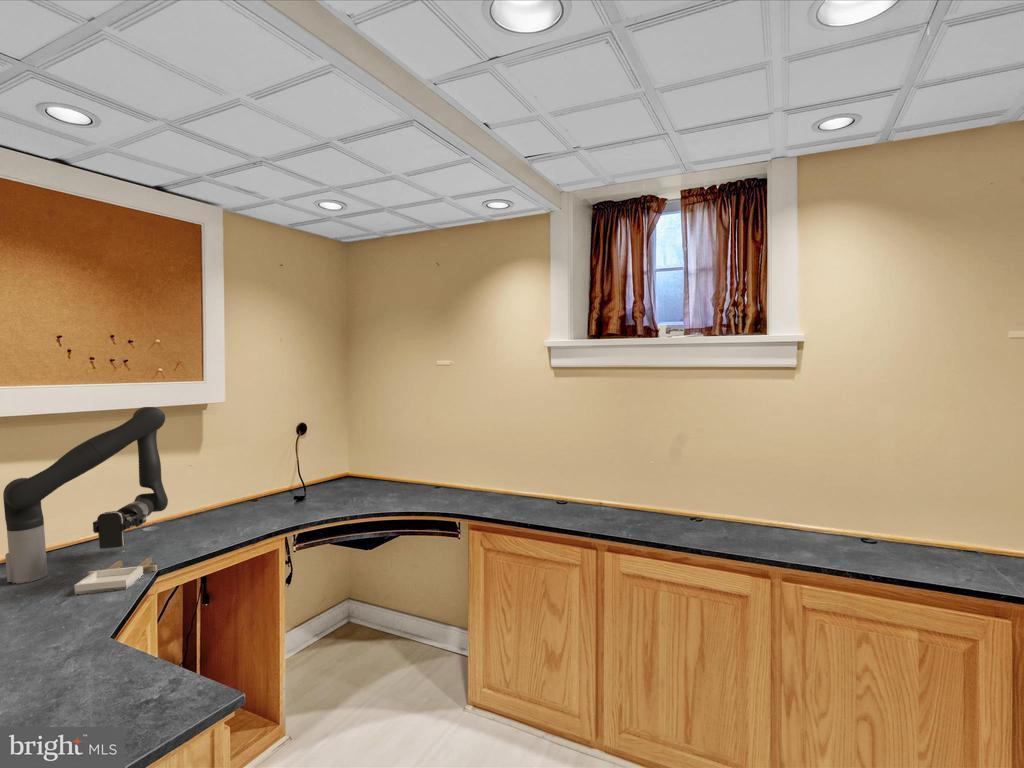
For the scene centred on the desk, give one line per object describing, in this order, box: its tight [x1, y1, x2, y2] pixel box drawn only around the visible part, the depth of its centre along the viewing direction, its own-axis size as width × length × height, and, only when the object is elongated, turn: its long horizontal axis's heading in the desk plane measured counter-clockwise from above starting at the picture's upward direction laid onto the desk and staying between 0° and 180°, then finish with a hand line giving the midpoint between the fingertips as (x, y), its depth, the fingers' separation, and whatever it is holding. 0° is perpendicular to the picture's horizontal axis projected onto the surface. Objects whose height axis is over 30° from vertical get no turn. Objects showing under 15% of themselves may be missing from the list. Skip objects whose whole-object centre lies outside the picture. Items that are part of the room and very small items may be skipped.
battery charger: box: [97, 510, 126, 550], centre depth 178 cm, size 7×4×11 cm, turn 101°
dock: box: [87, 557, 158, 576], centre depth 188 cm, size 20×10×2 cm, turn 102°
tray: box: [73, 565, 144, 596], centre depth 176 cm, size 14×12×3 cm
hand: (109, 528), depth 176 cm, fingers closed on battery charger, 7 cm apart
